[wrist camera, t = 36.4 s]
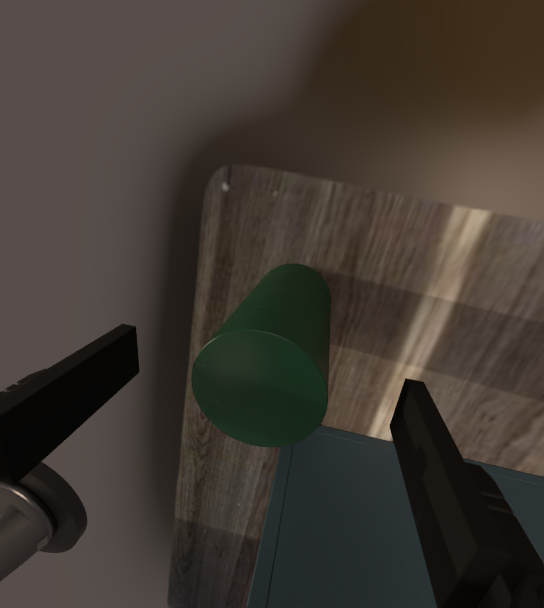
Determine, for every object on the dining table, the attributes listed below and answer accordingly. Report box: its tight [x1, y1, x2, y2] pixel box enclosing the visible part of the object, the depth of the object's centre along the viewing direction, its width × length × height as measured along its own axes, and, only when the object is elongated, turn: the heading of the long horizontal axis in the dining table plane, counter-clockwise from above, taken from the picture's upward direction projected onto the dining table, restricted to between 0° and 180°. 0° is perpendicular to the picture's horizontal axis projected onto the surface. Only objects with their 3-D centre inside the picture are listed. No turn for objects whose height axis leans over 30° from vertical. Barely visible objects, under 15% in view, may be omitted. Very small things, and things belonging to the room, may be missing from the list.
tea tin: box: [192, 264, 331, 447], centre depth 18 cm, size 6×6×12 cm
